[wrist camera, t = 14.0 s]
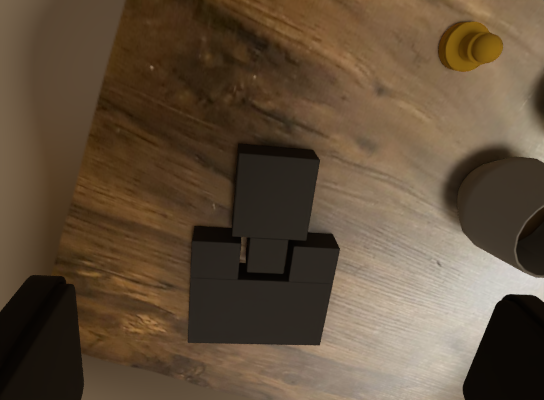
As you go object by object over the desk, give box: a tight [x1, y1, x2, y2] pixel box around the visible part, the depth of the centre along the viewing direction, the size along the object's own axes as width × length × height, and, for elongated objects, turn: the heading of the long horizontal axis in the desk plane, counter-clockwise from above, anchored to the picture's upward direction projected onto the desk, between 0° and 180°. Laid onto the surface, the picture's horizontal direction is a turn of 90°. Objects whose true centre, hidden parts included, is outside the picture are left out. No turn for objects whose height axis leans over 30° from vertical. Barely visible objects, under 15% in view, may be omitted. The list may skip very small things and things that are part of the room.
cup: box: [457, 157, 544, 278], centre depth 36 cm, size 10×9×10 cm
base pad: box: [188, 226, 340, 345], centre depth 41 cm, size 14×12×3 cm
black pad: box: [232, 144, 320, 274], centre depth 37 cm, size 7×12×3 cm, turn 173°
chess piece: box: [438, 22, 503, 72], centre depth 32 cm, size 4×4×5 cm
